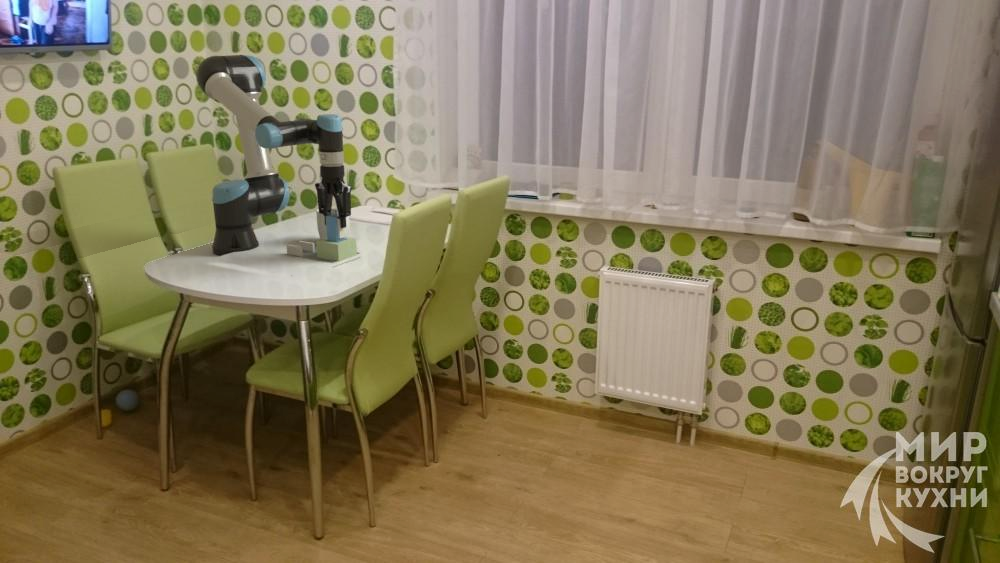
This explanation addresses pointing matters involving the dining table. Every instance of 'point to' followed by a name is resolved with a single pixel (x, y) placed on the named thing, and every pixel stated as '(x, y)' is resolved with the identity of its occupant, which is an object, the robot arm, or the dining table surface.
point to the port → (336, 249)
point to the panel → (307, 251)
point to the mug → (322, 226)
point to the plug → (333, 227)
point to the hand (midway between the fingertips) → (336, 236)
